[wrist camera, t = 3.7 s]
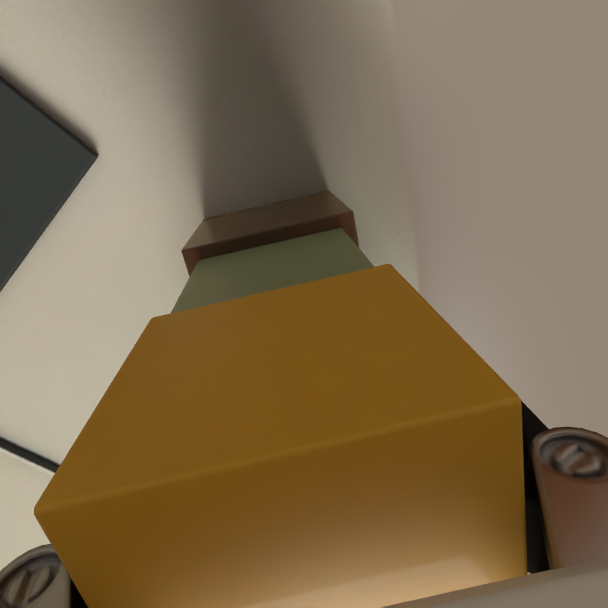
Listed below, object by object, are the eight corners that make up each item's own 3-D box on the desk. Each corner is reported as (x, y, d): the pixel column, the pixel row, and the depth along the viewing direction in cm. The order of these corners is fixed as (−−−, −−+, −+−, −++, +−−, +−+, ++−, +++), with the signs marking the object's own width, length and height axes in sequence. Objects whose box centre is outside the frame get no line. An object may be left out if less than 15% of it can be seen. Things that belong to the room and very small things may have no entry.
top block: (390, 262, 11) (523, 397, 5) (418, 454, 13) (534, 696, 7) (150, 317, 11) (26, 511, 5) (218, 501, 13) (184, 776, 7)
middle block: (342, 227, 16) (381, 273, 11) (365, 355, 18) (409, 450, 13) (198, 259, 16) (163, 323, 11) (237, 384, 18) (224, 492, 13)
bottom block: (329, 190, 22) (352, 210, 16) (351, 307, 25) (378, 362, 19) (203, 218, 22) (180, 250, 16) (237, 333, 25) (228, 397, 19)
